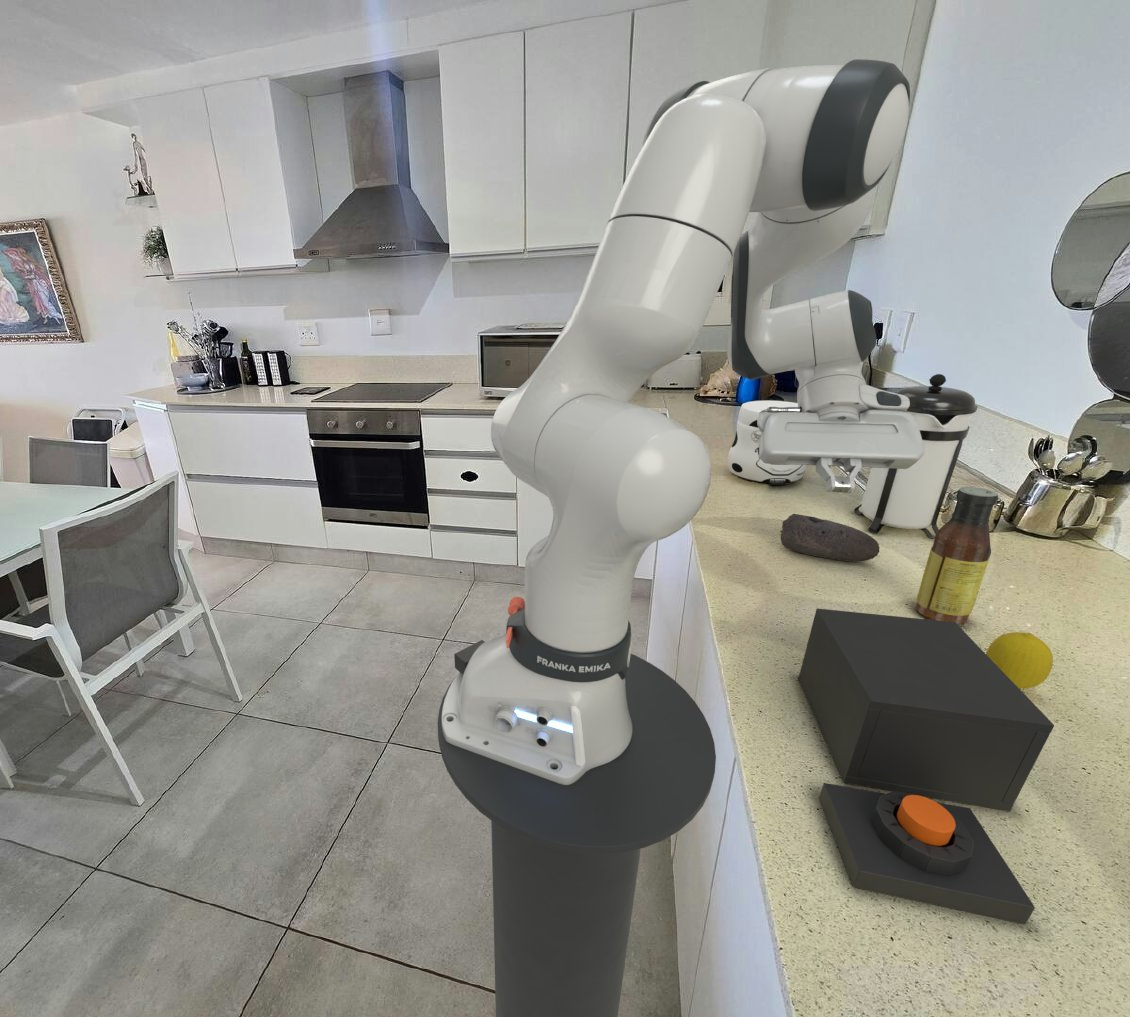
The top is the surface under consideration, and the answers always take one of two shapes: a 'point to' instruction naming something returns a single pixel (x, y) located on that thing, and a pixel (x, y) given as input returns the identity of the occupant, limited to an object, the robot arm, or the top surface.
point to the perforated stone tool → (827, 539)
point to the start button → (926, 820)
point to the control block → (921, 856)
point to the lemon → (1022, 658)
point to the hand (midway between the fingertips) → (840, 490)
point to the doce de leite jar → (747, 449)
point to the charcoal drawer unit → (919, 709)
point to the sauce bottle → (958, 559)
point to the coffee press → (921, 461)
